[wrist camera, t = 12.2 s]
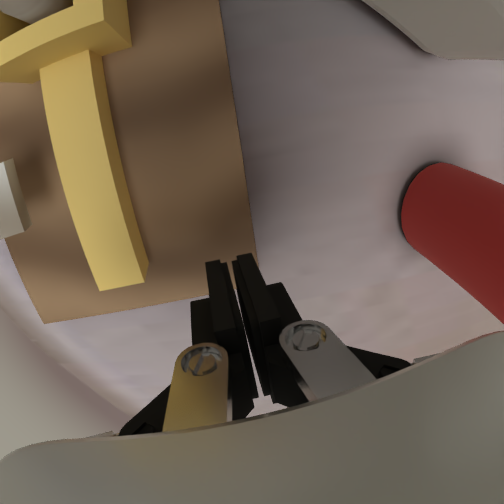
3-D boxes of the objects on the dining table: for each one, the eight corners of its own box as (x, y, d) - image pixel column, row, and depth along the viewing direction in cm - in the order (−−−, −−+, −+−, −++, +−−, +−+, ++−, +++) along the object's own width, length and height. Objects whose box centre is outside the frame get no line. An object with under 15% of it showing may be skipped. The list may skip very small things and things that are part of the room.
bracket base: (-18, -3, 8) (-84, -24, 2) (202, -82, 9) (212, -154, 3) (51, 310, 18) (14, 386, 12) (256, 270, 19) (286, 350, 13)
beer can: (465, 225, 21) (577, 303, 10) (404, 263, 21) (516, 372, 10) (455, 147, 18) (599, 206, 7) (386, 182, 18) (543, 274, 7)
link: (26, -3, 8) (-23, -29, 4) (123, -42, 9) (100, -89, 4) (84, 276, 16) (56, 334, 11) (176, 256, 16) (172, 314, 12)
